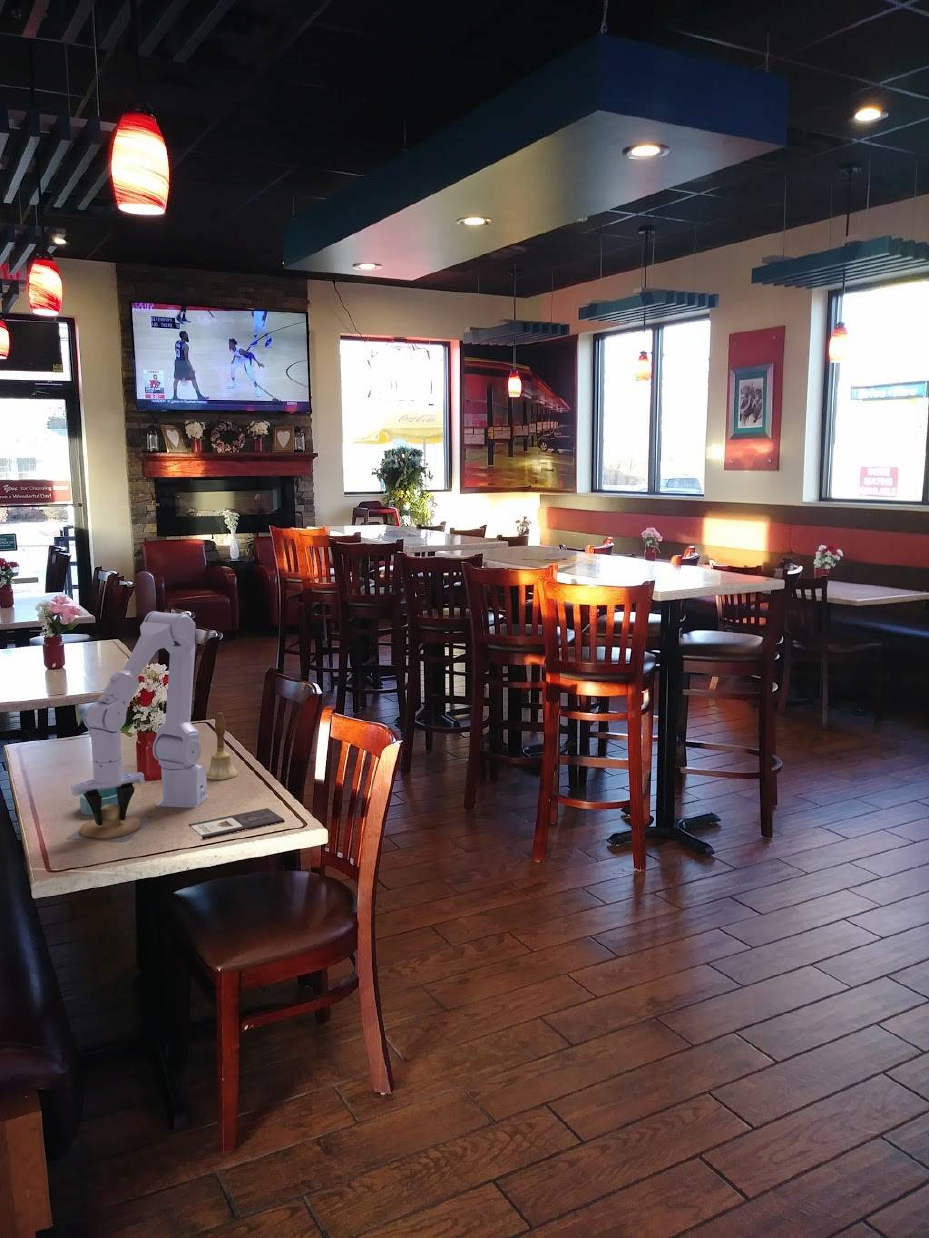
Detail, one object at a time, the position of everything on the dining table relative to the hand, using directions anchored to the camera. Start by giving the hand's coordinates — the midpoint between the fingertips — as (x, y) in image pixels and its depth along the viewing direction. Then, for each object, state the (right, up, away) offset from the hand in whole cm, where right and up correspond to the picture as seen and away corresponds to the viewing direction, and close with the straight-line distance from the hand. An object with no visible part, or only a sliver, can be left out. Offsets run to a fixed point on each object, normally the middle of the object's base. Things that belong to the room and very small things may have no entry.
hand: (110, 821), depth 206 cm
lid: (0, -2, 0) cm, 2 cm away
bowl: (-6, 0, +13) cm, 15 cm away
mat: (0, -2, 0) cm, 2 cm away
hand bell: (+14, +3, +39) cm, 41 cm away
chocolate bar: (+26, -2, +4) cm, 26 cm away
